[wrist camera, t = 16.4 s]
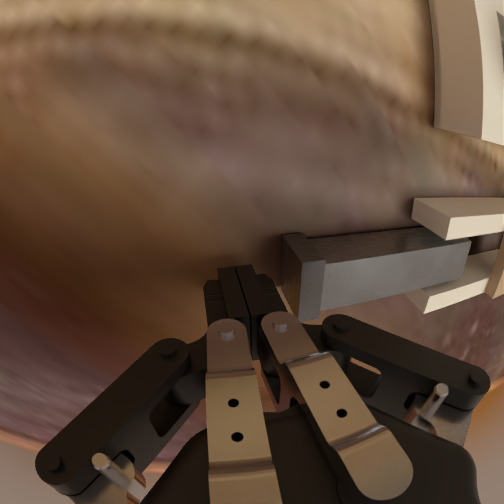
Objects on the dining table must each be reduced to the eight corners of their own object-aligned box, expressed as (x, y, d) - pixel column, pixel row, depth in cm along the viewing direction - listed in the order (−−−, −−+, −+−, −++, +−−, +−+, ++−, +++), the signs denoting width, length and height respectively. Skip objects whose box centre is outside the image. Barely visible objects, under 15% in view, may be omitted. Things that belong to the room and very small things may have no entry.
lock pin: (282, 235, 14) (302, 262, 11) (445, 219, 16) (474, 237, 13) (280, 289, 15) (297, 322, 13) (435, 261, 17) (461, 282, 15)
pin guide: (414, 198, 15) (463, 224, 11) (518, 197, 17) (551, 215, 13) (396, 286, 17) (432, 323, 14) (502, 258, 19) (531, 279, 16)
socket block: (422, -27, 8) (464, -39, 5) (509, 29, 10) (543, 31, 7) (433, 127, 13) (481, 139, 10) (512, 147, 14) (547, 160, 11)
